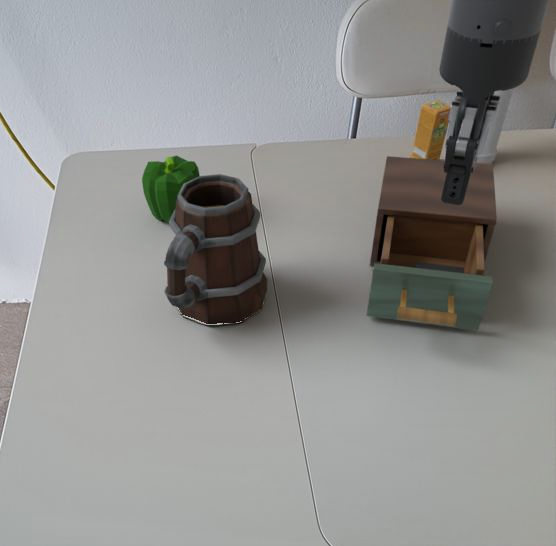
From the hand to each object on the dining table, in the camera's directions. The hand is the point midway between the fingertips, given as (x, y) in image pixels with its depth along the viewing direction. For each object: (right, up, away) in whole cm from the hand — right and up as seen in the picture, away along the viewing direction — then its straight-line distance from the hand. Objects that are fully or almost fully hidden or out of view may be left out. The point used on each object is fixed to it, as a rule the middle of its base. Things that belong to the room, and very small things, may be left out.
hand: (452, 200), depth 67 cm
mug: (-25, -10, +14) cm, 30 cm away
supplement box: (+9, +13, +35) cm, 39 cm away
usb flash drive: (+1, -8, +11) cm, 13 cm away
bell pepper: (-30, +4, +29) cm, 42 cm away
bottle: (+18, +15, +36) cm, 43 cm away
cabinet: (+4, -1, +21) cm, 21 cm away
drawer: (0, -10, +10) cm, 14 cm away
